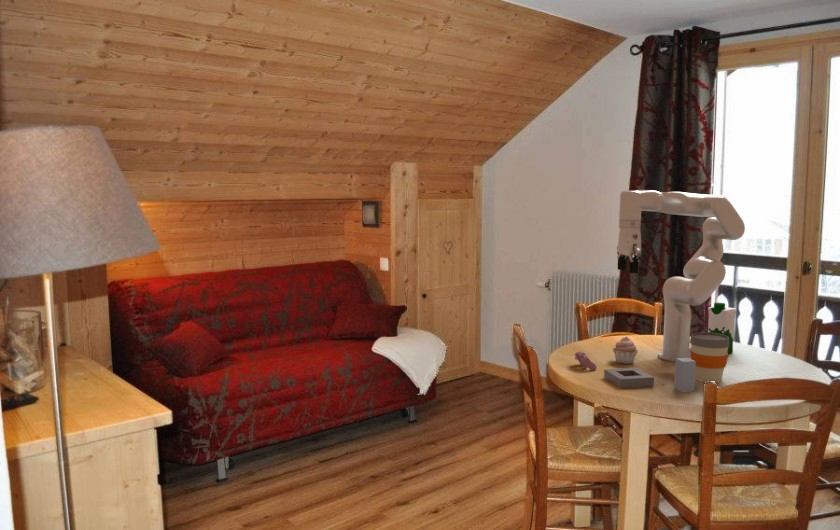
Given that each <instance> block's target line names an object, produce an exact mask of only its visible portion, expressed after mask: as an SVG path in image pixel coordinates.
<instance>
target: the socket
mask: <svg viewBox="0 0 840 530" xmlns="http://www.w3.org/2000/svg"><path fill="white" fill-rule="evenodd" d="M603 372H604V373H603V374H604V375H603V378H604V379H605V380H606V381H608V382H610V383H612V384H613V385H615V386H616V387H618V388H620V389H622V388H623V389H625V388H646V386H648V387H654V386H655V377H654V376H652V374H649V373H647V372H645V371H643V370H641V369H640V368H638V367H628V368H627V367H626V368H624V367H623V368H605V369H604V371H603Z"/></svg>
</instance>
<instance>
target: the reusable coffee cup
mask: <svg viewBox="0 0 840 530" xmlns="http://www.w3.org/2000/svg"><path fill="white" fill-rule="evenodd" d="M690 347H691V350H690V354H691V359H692V360H694V361H696V365H695V380H696V379H697V381H699V380H701V381H700V382H704V381H715V382H714V383H720V382H722V380H723V375H724V369H725V368H726V366H727V362H728V357H729V354H728V353H727V351H728V347H729V337H728V336H726V335H722V334H717V333H708V331H706V332H705V331H704V332H703V331H702V332H694V333H690Z"/></svg>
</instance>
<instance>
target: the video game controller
mask: <svg viewBox="0 0 840 530" xmlns="http://www.w3.org/2000/svg"><path fill="white" fill-rule="evenodd" d="M574 359H575V360H576V361H578V363H579V364H580V366H581V365H582V366H581V367H583V368H584V369H589V370H591V371H596V370H597V368H598V366H597V365H596V364H595V363H594V362H593V361H592V360H591V359H590V358H589V357H588V355H587V353H586V352H584V351H581V350H580V351H577V352H574Z"/></svg>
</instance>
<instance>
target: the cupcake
mask: <svg viewBox="0 0 840 530" xmlns="http://www.w3.org/2000/svg"><path fill="white" fill-rule="evenodd" d="M612 352H613V353H614V359H615V361H616V362H617V363H618V364H621V363H622V365H631V364H634V362H635V359H636V355H637V354H638V352H639V349H637V346H636V345H635V344H634V341H633V340H632V339H631V338H629V337H628V336H625V337H622V338H621V339H620V340H619V341H616V343H615V347H612Z"/></svg>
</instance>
